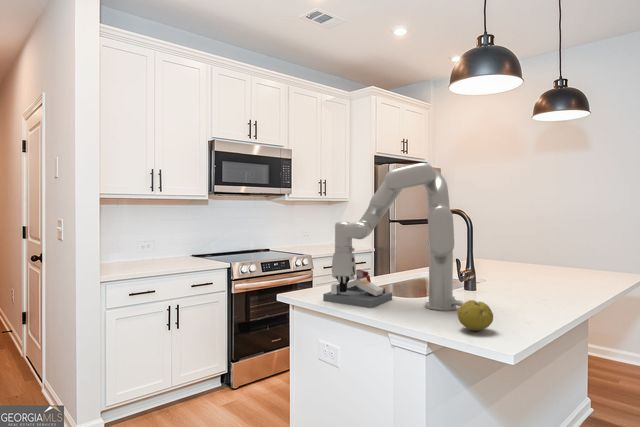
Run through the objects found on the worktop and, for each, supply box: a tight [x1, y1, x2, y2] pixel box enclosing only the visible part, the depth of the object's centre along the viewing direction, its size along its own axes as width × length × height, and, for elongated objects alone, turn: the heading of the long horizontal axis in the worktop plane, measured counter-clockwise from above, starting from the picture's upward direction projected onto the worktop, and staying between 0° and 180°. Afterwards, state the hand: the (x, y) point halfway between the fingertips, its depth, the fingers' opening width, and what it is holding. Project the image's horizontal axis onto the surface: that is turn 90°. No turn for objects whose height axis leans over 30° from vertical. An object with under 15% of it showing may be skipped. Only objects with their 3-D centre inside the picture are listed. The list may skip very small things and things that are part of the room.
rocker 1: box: [347, 277, 367, 288], centre depth 196 cm, size 10×6×3 cm, turn 56°
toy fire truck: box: [355, 269, 372, 289], centre depth 207 cm, size 7×12×10 cm, turn 24°
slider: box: [330, 283, 341, 295], centre depth 186 cm, size 3×4×4 cm
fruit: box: [456, 299, 494, 332], centre depth 142 cm, size 11×12×10 cm
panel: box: [322, 286, 393, 309], centre depth 188 cm, size 24×20×5 cm
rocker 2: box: [357, 280, 384, 296], centre depth 185 cm, size 10×6×3 cm, turn 56°
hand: (343, 291), depth 184 cm, fingers closed
